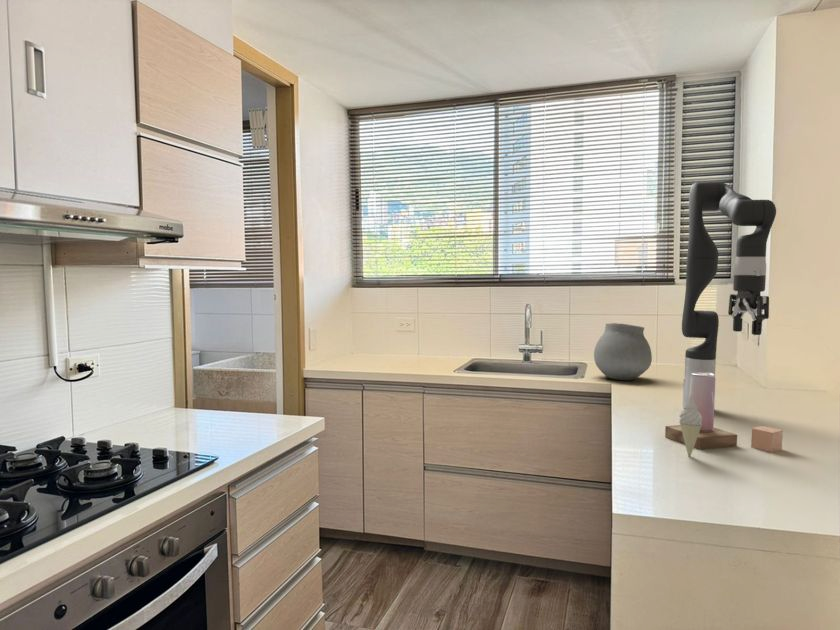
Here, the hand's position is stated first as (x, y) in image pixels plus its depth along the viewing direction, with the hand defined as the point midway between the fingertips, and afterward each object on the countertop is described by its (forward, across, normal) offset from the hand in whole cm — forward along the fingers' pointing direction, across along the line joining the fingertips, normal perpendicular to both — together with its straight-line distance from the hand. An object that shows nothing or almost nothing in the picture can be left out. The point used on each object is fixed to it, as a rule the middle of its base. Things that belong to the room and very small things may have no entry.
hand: (746, 333), depth 153 cm
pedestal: (+28, +7, -15) cm, 33 cm away
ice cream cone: (+28, +20, -25) cm, 43 cm away
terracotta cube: (+28, +13, -1) cm, 31 cm away
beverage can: (+25, +7, -15) cm, 30 cm away
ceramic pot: (+31, -94, +3) cm, 99 cm away
